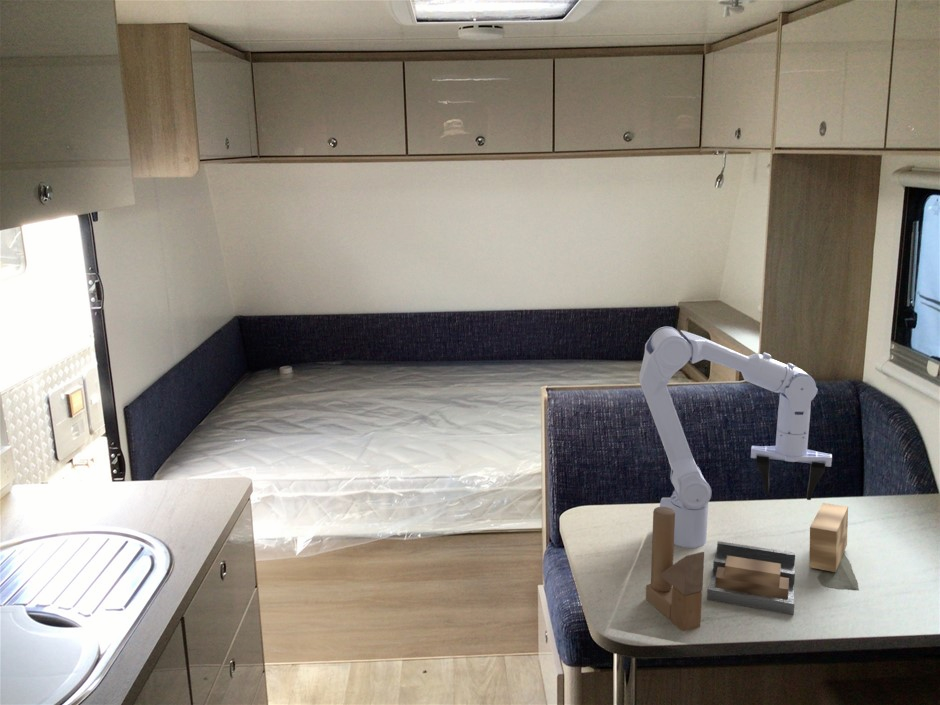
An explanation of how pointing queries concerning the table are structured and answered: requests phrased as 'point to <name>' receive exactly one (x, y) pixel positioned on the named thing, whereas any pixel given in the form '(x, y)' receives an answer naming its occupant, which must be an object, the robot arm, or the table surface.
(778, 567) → the walnut offcut upper
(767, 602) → the rack
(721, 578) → the walnut offcut lower
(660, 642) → the table surface
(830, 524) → the oak board
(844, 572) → the stone slab
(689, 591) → the wooden block
